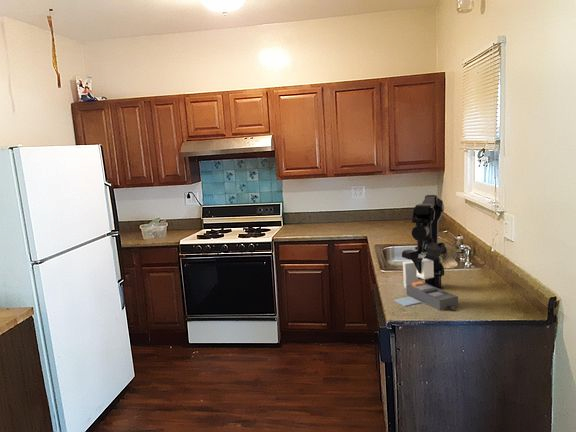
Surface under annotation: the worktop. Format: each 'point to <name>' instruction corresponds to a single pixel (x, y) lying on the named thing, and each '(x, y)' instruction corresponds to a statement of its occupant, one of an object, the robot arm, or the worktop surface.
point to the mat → (407, 301)
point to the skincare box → (409, 273)
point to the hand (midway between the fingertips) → (424, 272)
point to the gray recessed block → (432, 296)
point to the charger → (426, 269)
